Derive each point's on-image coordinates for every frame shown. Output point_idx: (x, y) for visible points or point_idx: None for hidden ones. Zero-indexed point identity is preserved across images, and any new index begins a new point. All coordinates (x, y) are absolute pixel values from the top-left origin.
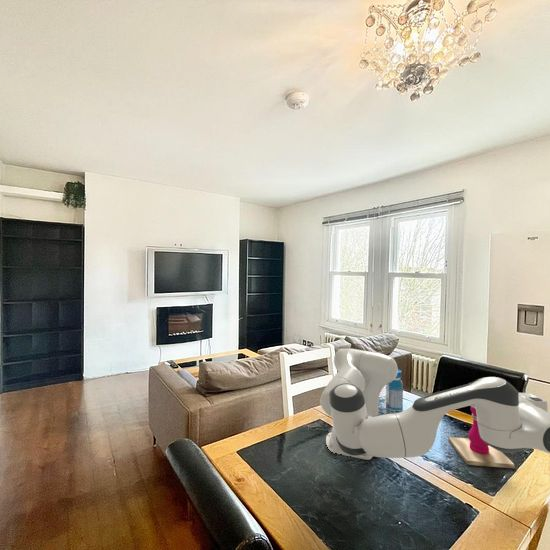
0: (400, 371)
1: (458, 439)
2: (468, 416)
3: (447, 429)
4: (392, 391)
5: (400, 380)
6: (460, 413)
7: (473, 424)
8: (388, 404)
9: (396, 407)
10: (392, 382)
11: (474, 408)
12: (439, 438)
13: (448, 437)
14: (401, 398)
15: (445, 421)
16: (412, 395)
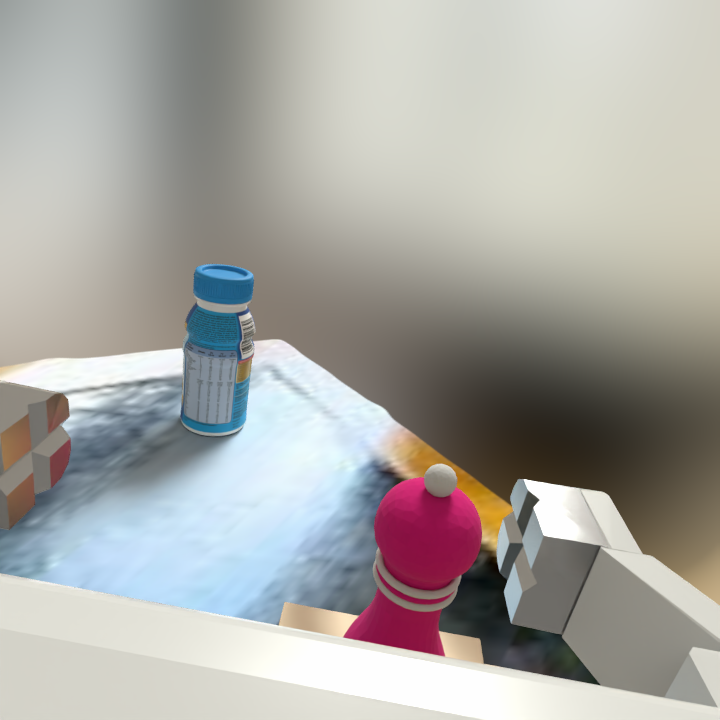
0: (244, 278)
1: (323, 623)
2: (477, 488)
3: (338, 544)
4: (193, 356)
5: (238, 316)
6: (456, 471)
7: (374, 599)
8: (182, 404)
9: (204, 420)
10: (197, 319)
11: (386, 522)
12: (250, 597)
13: (284, 604)
14: (232, 389)
15: (366, 501)
16: (341, 383)
